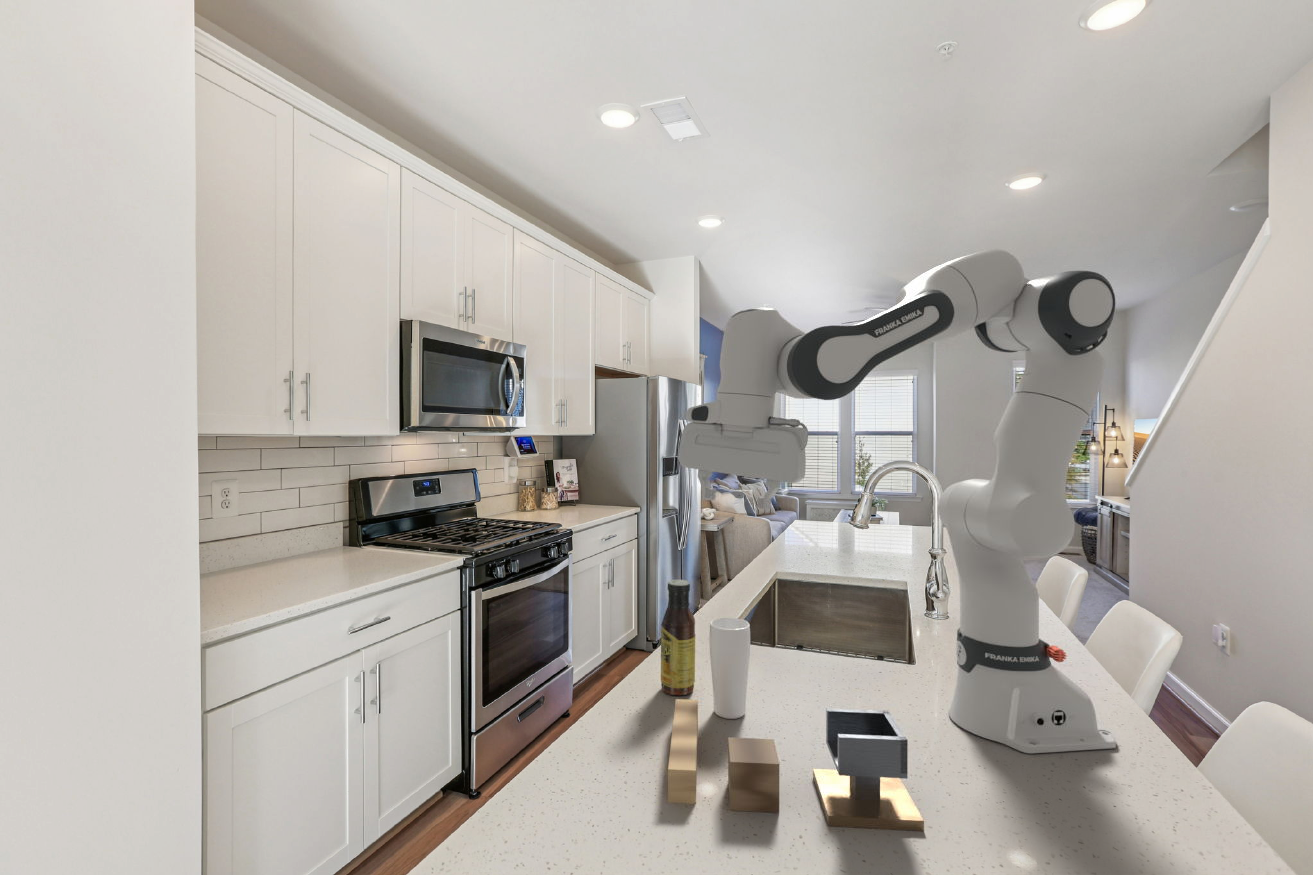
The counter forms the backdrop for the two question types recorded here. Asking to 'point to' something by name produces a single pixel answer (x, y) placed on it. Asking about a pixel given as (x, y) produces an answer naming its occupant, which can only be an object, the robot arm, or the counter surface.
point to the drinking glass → (729, 665)
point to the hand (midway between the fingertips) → (735, 504)
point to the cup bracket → (866, 772)
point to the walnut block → (753, 775)
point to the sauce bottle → (678, 641)
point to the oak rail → (683, 753)
